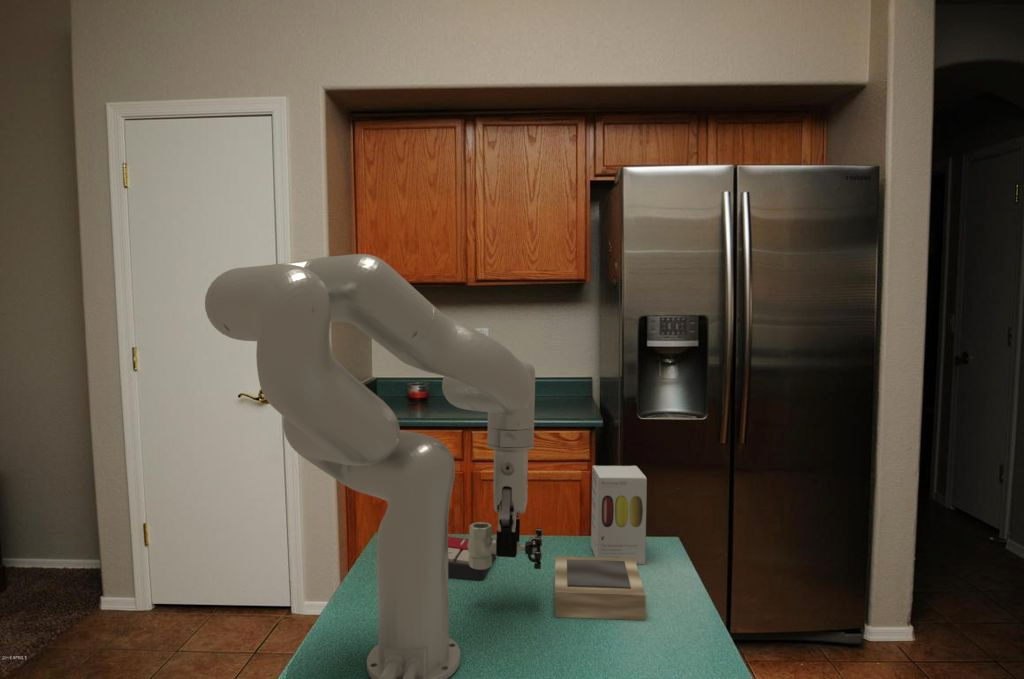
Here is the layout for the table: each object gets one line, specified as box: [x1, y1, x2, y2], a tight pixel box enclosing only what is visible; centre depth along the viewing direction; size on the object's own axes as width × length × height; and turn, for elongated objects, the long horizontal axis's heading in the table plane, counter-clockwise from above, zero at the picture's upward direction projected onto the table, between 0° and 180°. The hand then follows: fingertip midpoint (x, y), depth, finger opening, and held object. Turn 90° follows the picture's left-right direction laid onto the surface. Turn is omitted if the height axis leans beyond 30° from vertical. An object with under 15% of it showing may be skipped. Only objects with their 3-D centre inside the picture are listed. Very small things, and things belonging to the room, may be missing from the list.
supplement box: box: [590, 465, 648, 565], centre depth 120 cm, size 10×9×17 cm
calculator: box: [448, 535, 497, 582], centre depth 116 cm, size 11×4×15 cm
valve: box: [468, 521, 543, 570], centre depth 99 cm, size 7×7×12 cm
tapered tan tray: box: [554, 555, 646, 621], centre depth 102 cm, size 14×14×4 cm
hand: (508, 548), depth 99 cm, fingers closed on valve, 5 cm apart
